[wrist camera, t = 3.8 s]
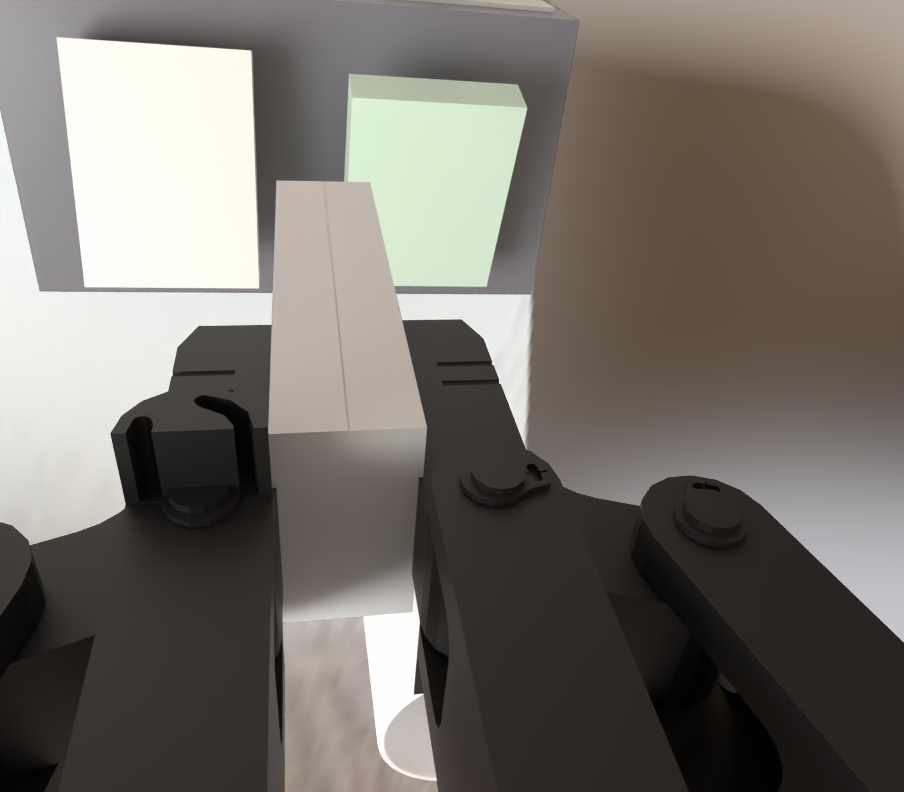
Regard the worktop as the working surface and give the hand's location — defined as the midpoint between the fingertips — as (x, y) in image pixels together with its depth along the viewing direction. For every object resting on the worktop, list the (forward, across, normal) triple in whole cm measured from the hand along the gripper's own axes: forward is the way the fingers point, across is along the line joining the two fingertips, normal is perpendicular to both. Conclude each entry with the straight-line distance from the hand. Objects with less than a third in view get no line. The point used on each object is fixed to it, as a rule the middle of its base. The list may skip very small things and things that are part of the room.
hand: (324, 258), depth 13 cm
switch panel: (+18, 0, -3) cm, 19 cm away
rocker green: (+13, +4, -3) cm, 14 cm away
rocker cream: (+13, -4, -3) cm, 14 cm away
